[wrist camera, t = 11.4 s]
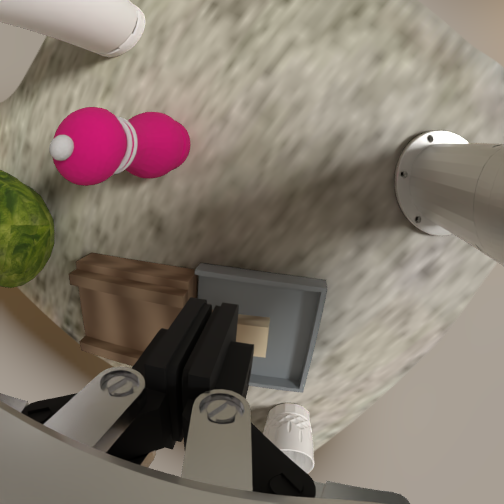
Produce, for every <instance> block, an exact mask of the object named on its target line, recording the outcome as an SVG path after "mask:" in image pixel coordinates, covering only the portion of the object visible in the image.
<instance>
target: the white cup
mask: <svg viewBox="0 0 504 504" xmlns="http://www.w3.org/2000/svg"><path fill="white" fill-rule="evenodd" d="M263 434H264V435H265V436H266V437H267V438H268V439H269V440H270V441H271V442H272V443H273V444H274V445H275V446H276V447H278V448H279V449H280V450H281V451H282V452H283V453H284V454H285V455H286V456H288V457H289V458H290V459H291V460H292V461H293V462H294V463H295V464H297V465H298V466H299V467H300V468H301V469H302V470H304V471H305V472H306V473H307V474H308V473H309V472H310V471H311V470H312V469H313V468H314V450H313V439H312V427H311V424H310V415H309V412H308V411H307V410H306V409H305V408H304V407H303V406H300V405H298V404H294V403H284V404H280V405H276V406H275V407H274V408H272V409H271V410H270V411H269V413H268V416H267V420H266V424H265V427H264V431H263Z"/></svg>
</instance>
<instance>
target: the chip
mask: <svg viewBox="0 0 504 504" xmlns="http://www.w3.org/2000/svg"><path fill="white" fill-rule="evenodd" d="M269 323H270V318H269V317H260V316H251V315H242V314H238V323H237V335H236V342H241V343H248V344H254V354H253V356H255V357H264V358H265V357H266V351H267V343H268V333H269Z"/></svg>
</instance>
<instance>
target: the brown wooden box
mask: <svg viewBox="0 0 504 504" xmlns="http://www.w3.org/2000/svg"><path fill="white" fill-rule="evenodd" d="M76 268H77V269H76V270H74V271H72V272H71V273H69V279H70V285H75V286H78V287H79V295H80V302H81V309H82V316H83V322H84V328H85V334H86V336H85V337H84V338H83V339H82V340H81V341H80V347H81V350H82V351H85V352H88V353H91V354H94V355H97V356H101V357H104V358H107V359H110V360H114V361H117V362H121V363H124V364H128V365H131V366H134V364H135V363H136V362H137V360H138V359H139V357H140V356H141V355H142V353H143V352H144V350H145V349H146V348H147V346H148V345H149V344H150V342H151V341H152V339H153V338H154V337H155V335H156V334H157V333H158V331H159V330H160V329H162V328H164V329H169V327H170V326H171V324H172V323H173V321H174V320H175V318H176V317H177V316H178V314H179V313H180V311H181V310H182V308H183V307H184V306H185V304H186V303H187V301H188V300H189V298H190V297H193V298H197V282H198V275H195V269H189V268H182V267H176V266H170V265H163V264H157V263H151V262H145V261H138V260H132V259H126V258H120V257H114V256H108V255H103V254H97V253H90V254H89V255H87V256H85V257H83V258H82V259H80V260H78V261H77V262H76Z"/></svg>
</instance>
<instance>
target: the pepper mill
mask: <svg viewBox="0 0 504 504" xmlns="http://www.w3.org/2000/svg"><path fill="white" fill-rule="evenodd" d="M49 150H50V154H51V156H52V157H53V160H54V164H55V166H56V168H57V170H58V171H59V172H60V174H61V175H62V176H63V177H64V178H65V179H67V180H68V181H70V182H72V183H74V184H77V185H85V186H88V185H95V184H98V183H101V182H103V181H105V180H107V179H108V178H109V177H110V176H112V175H113V174H118V173H120V172H122V171H124V170H125V169H126V170H127V171H128V172H129V173H131V174H133V175H135V176H138V177H141V178H157V177H161V176H163V175H165V174H167V173H168V172H170V171H171V170H173V169H175V168H177V167H179V166H180V165H181V164H182V163H183V162H184V161H185V159H186V158H187V156H188V153H189V150H190V138H189V135H188V132H187V130H186V129H185V128H184V127H183V126H182V125H181V124H180V123H178V122H177V121H174V120H173V119H172V118H171V117H169V116H167V115H165V114H163V113H158V112H145V113H142V114H139V115H136V116H134V117H132V118H131V119H129V120H128V121H127V120H126V119H124V118H122V117H118V116H115V115H114V114H112V113H111V112H109V111H108V110H106V109H102V108H97V107H87V108H83V109H79V110H77V111H75V112H73V113H71V114H70V115H68V116H67V117H66V118H65V119H64V120H63V121H62V123H61V124H60V125H59V127H58V129H57V131H56V133H55V136H54V139H53V140H52V141H51V144H50V148H49Z"/></svg>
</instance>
